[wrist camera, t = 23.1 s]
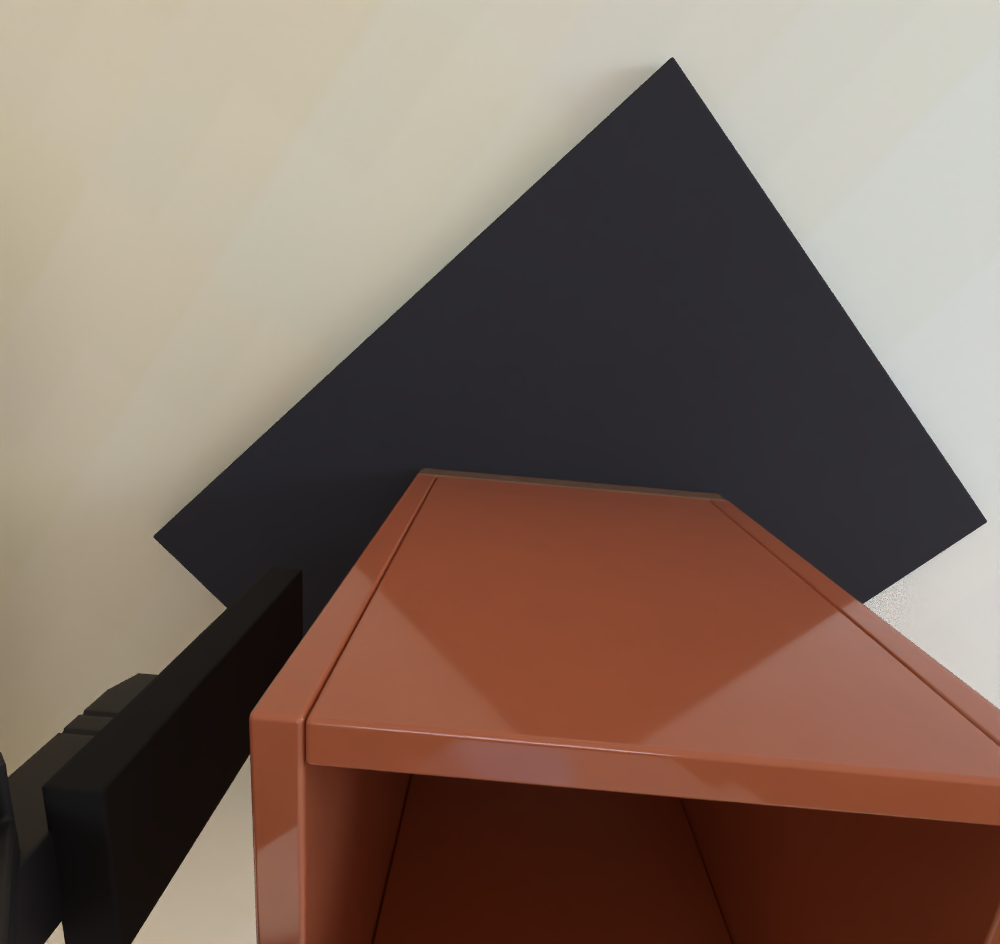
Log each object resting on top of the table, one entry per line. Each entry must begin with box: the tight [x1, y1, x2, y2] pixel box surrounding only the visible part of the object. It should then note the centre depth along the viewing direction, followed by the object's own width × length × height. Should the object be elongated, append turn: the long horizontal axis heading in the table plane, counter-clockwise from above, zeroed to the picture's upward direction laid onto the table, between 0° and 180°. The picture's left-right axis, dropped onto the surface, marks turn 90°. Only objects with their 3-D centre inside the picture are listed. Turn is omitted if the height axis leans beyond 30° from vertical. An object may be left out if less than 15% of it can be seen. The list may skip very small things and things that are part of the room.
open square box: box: [249, 468, 1000, 944], centre depth 12 cm, size 11×9×9 cm
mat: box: [154, 57, 987, 637], centre depth 17 cm, size 20×16×1 cm
